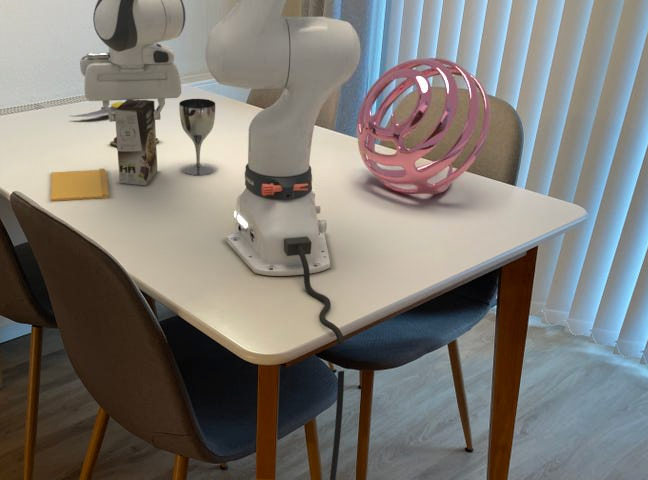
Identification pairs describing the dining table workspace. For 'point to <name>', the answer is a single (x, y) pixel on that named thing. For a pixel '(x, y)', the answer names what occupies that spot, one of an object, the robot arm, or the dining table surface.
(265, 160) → the robot arm
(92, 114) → the knife
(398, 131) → the spiral basket
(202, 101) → the wine glass
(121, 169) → the coffee box
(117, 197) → the dining table surface
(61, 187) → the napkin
